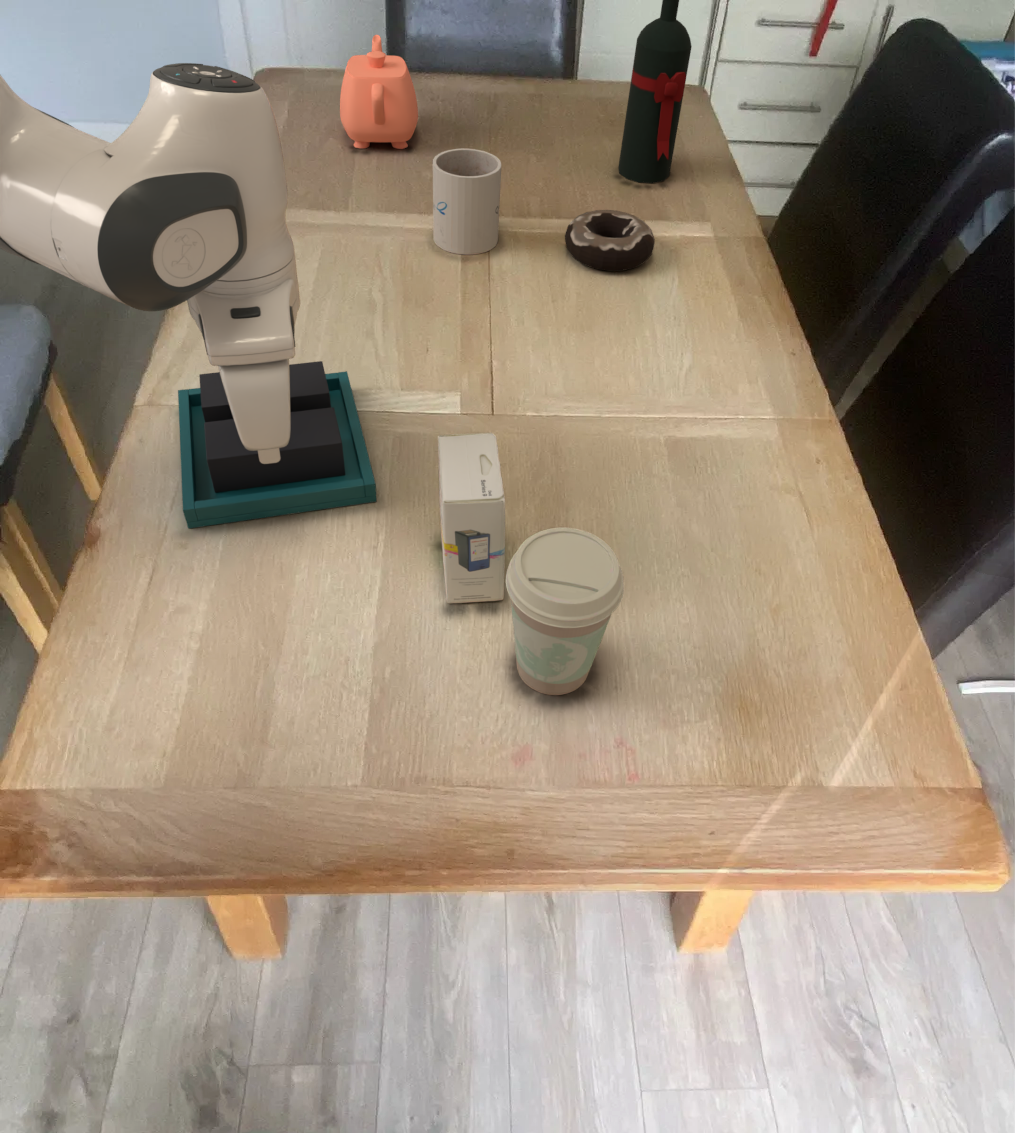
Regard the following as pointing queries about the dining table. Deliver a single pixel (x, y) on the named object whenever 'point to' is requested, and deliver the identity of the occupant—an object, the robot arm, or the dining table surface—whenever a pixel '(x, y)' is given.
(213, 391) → the black rectangular block
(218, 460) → the loose pad
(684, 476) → the dining table surface
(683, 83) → the wine bottle
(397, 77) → the teapot
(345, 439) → the teal tray
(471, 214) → the mug
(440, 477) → the ink box
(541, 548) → the coffee cup
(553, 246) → the dining table surface
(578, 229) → the donut
